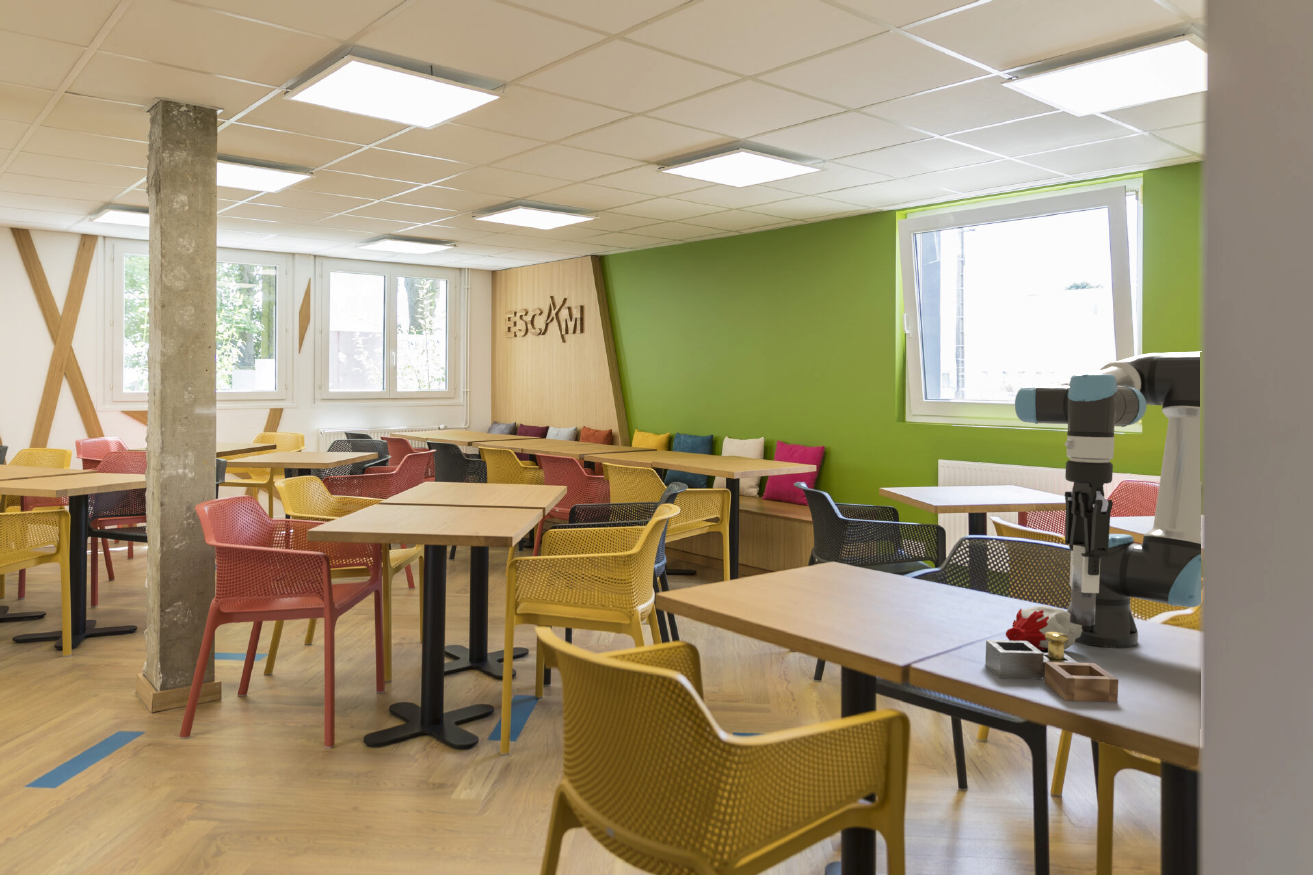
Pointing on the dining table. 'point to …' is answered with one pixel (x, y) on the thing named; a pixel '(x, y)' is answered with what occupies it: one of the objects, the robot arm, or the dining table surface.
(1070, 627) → the white and red lump
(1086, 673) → the wooden box
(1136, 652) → the dining table surface
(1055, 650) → the gold bolt
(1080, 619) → the silver metal cylinder
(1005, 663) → the socket
